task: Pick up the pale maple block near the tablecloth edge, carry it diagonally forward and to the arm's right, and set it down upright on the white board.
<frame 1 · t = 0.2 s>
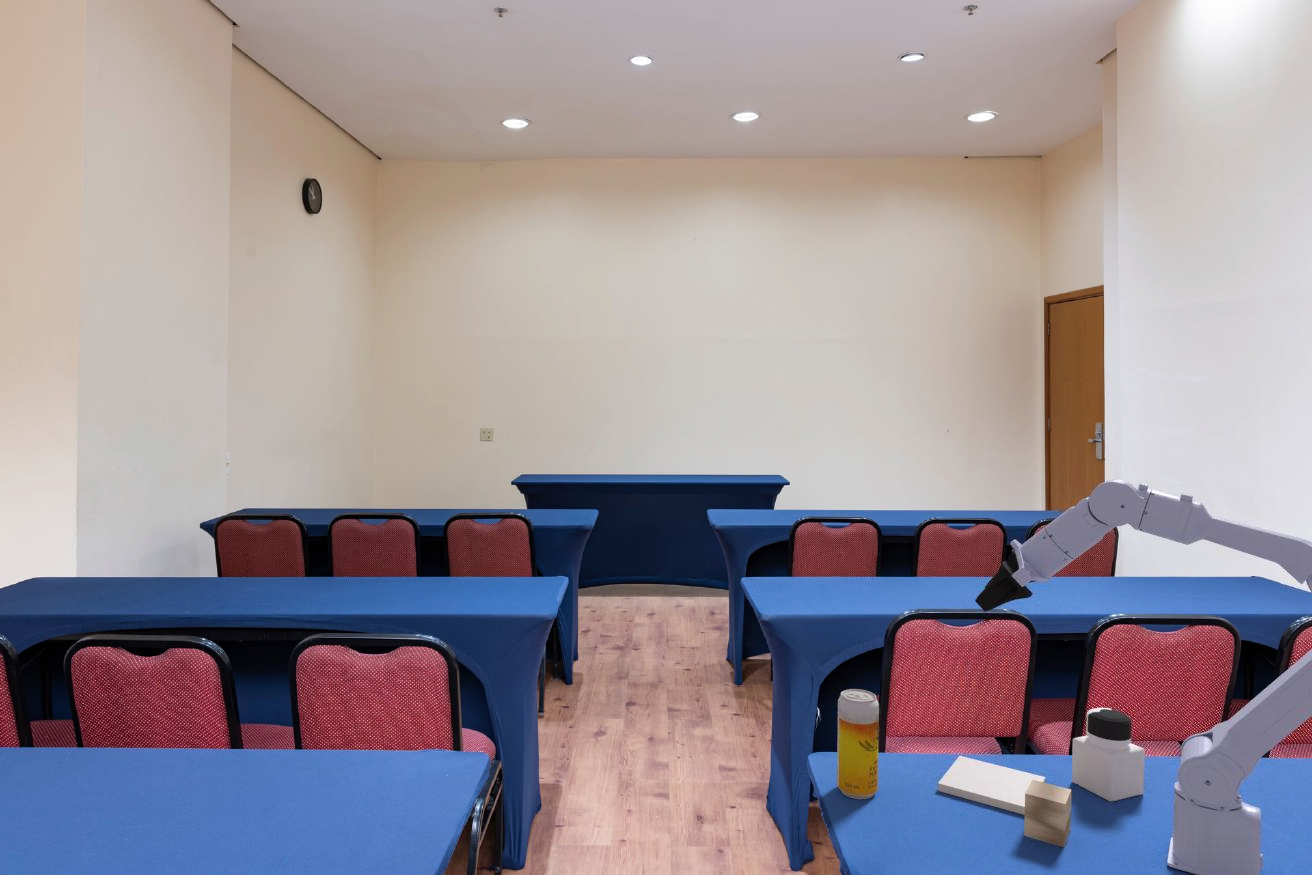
hand: (985, 598, 118), 31 cm above the table, tool tilted 45°, fingers open, 7 cm apart
medicine bottle: (1107, 789, 124), on the table
white board: (991, 787, 124), on the table
maple block: (1047, 833, 111), on the table
beer can: (857, 792, 123), on the table
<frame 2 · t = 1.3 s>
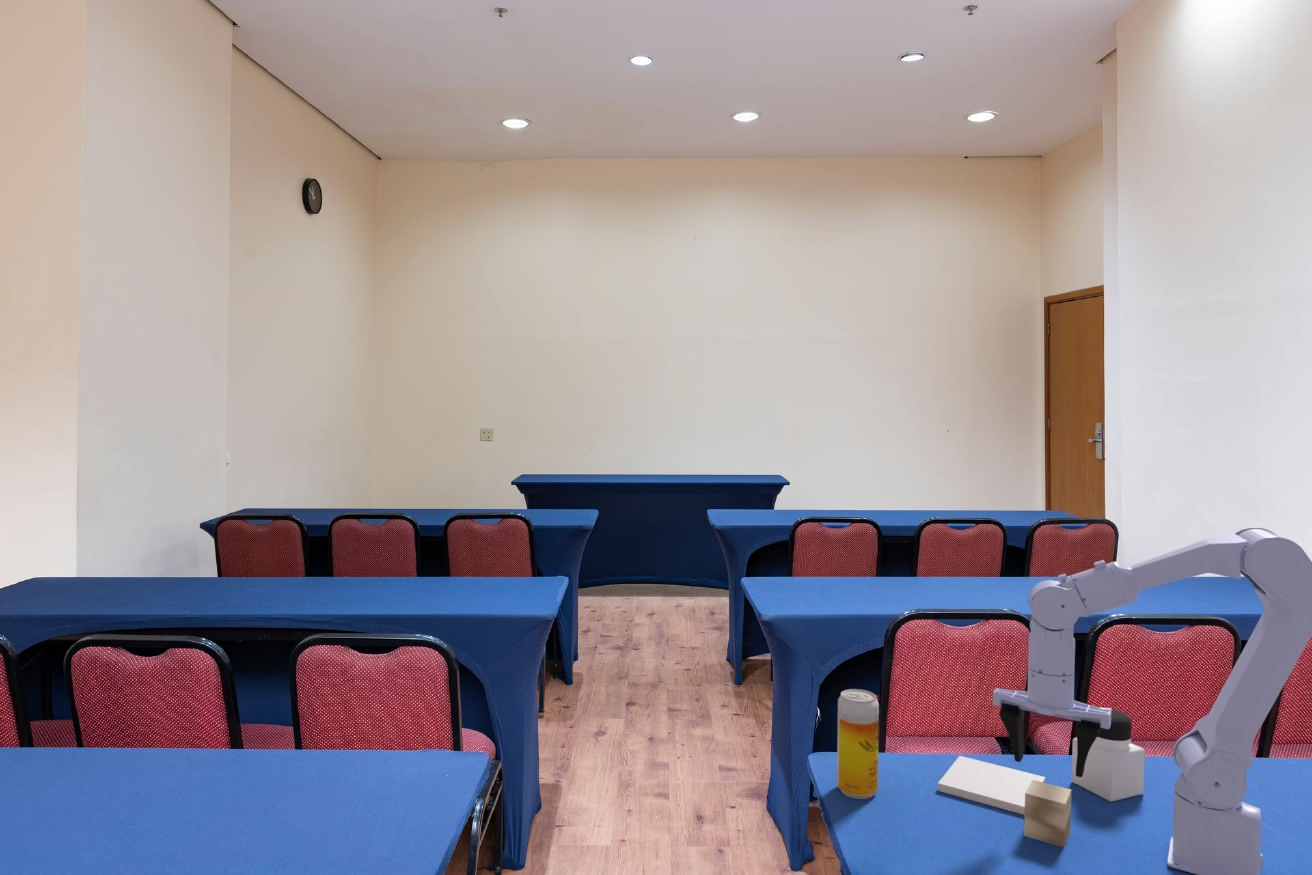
hand: (1048, 766, 111), 9 cm above the table, tool pointing down, fingers open, 7 cm apart
nothing on the table moved.
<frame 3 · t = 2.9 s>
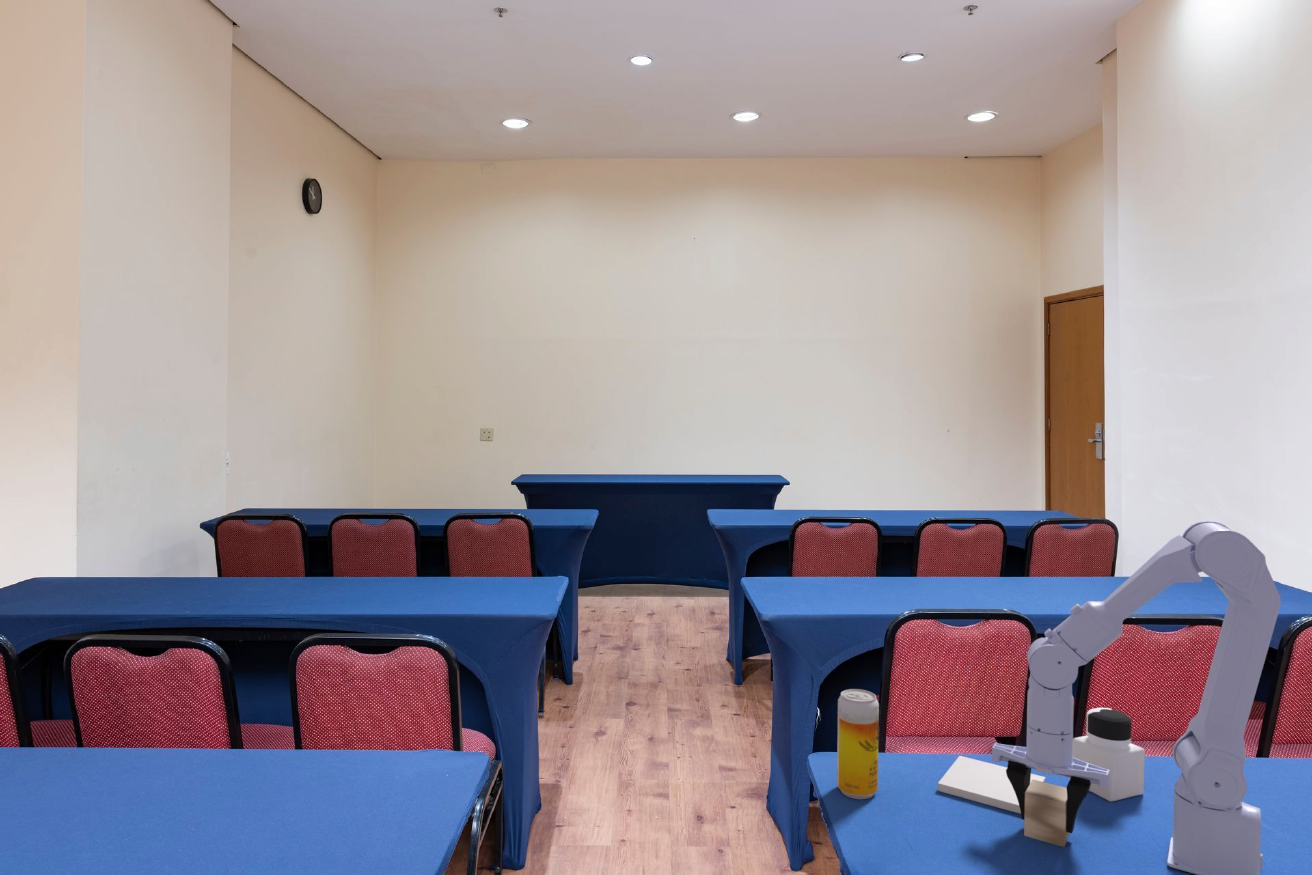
hand: (1047, 823, 111), 1 cm above the table, tool pointing down, fingers closed on maple block, 5 cm apart
maple block: (1047, 833, 111), on the table, touching gripper
everything else where it was.
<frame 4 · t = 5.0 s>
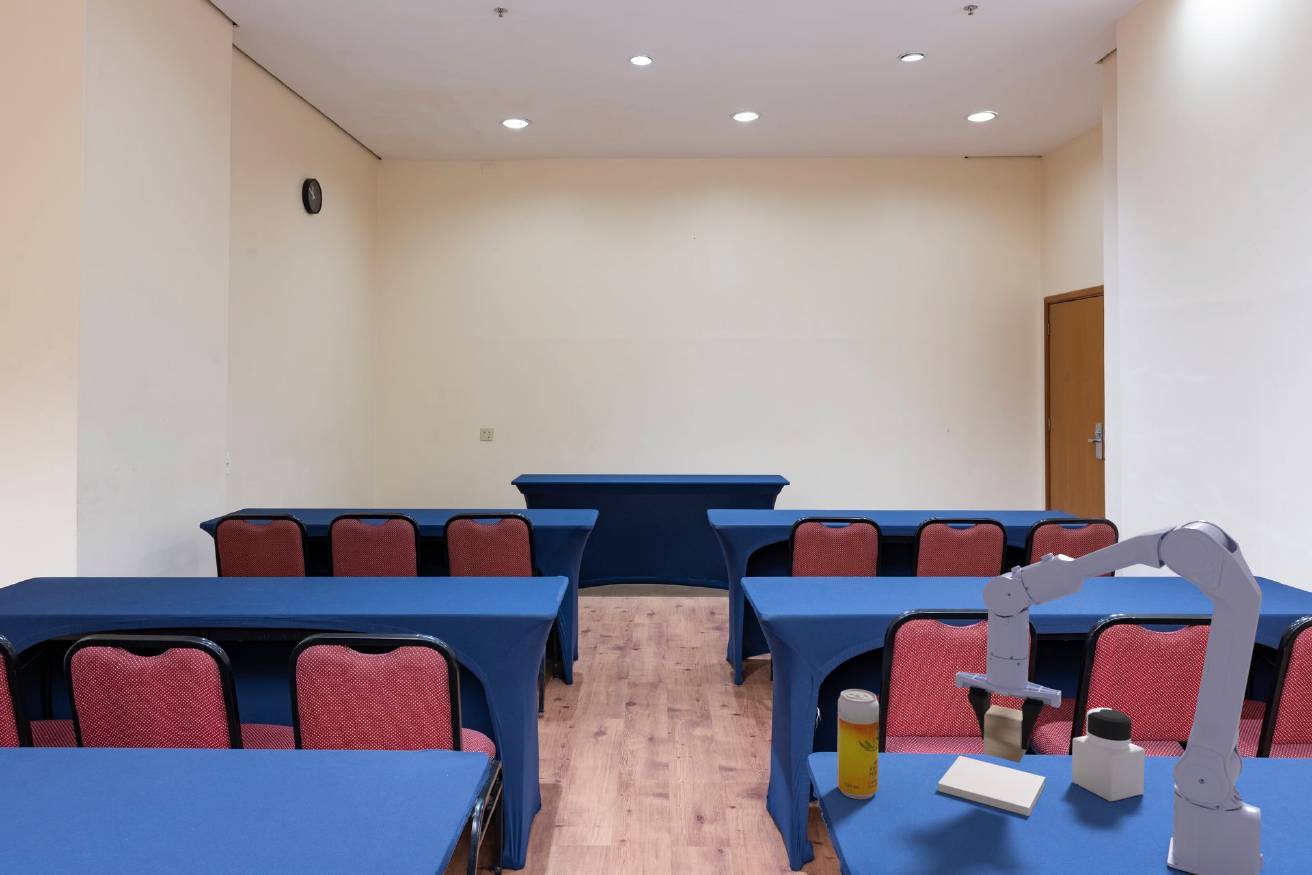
hand: (1005, 742, 120), 9 cm above the table, tool pointing down, fingers closed on maple block, 5 cm apart
maple block: (1005, 752, 120), point 7 cm above the table, touching gripper
everything else where it was.
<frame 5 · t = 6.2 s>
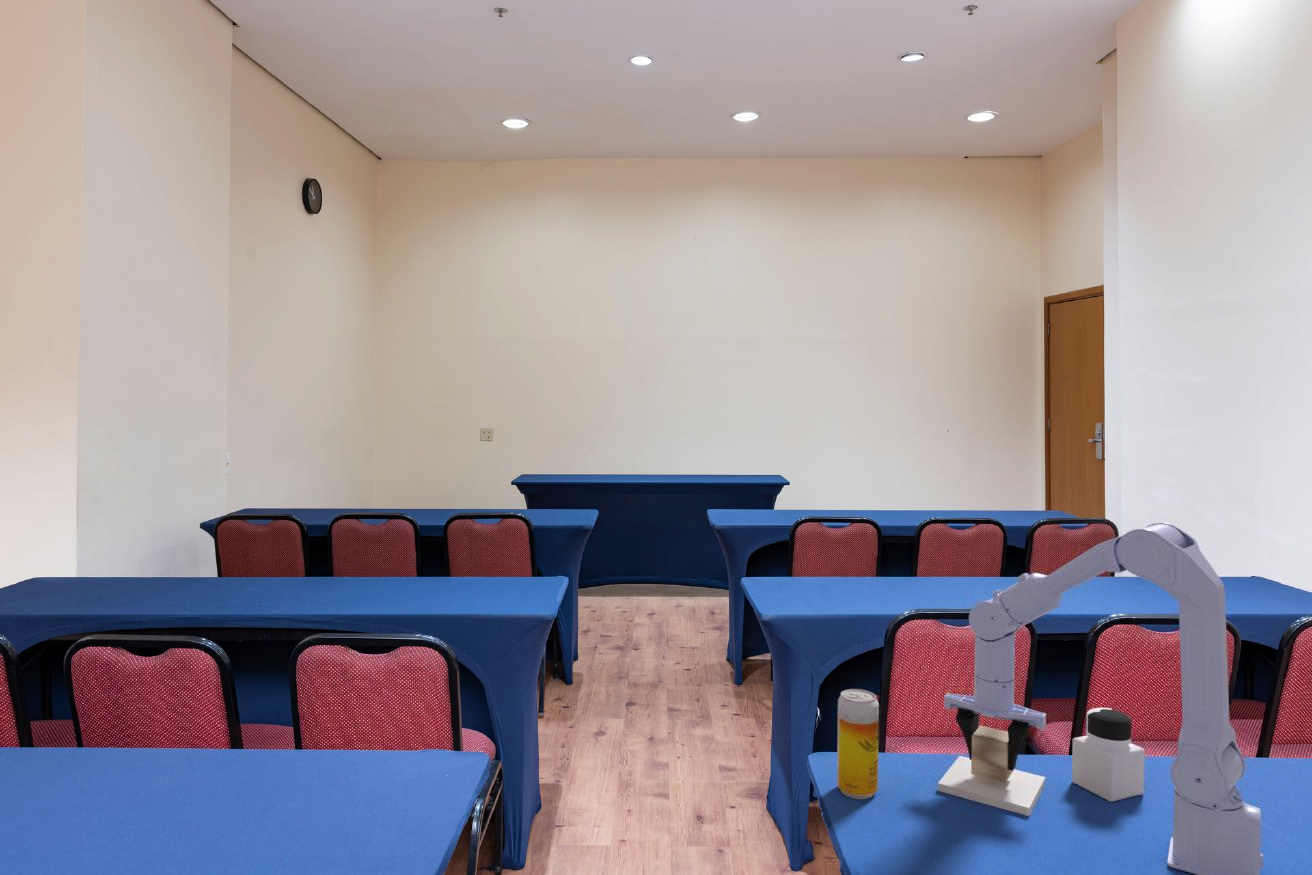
hand: (992, 762, 124), 4 cm above the table, tool pointing down, fingers closed on maple block, 5 cm apart
maple block: (992, 772, 124), point 2 cm above the table, touching gripper
everything else where it was.
when the fingers open (4 cm above the table, at t = 7.0 s): maple block drops 1 cm, resting on white board.
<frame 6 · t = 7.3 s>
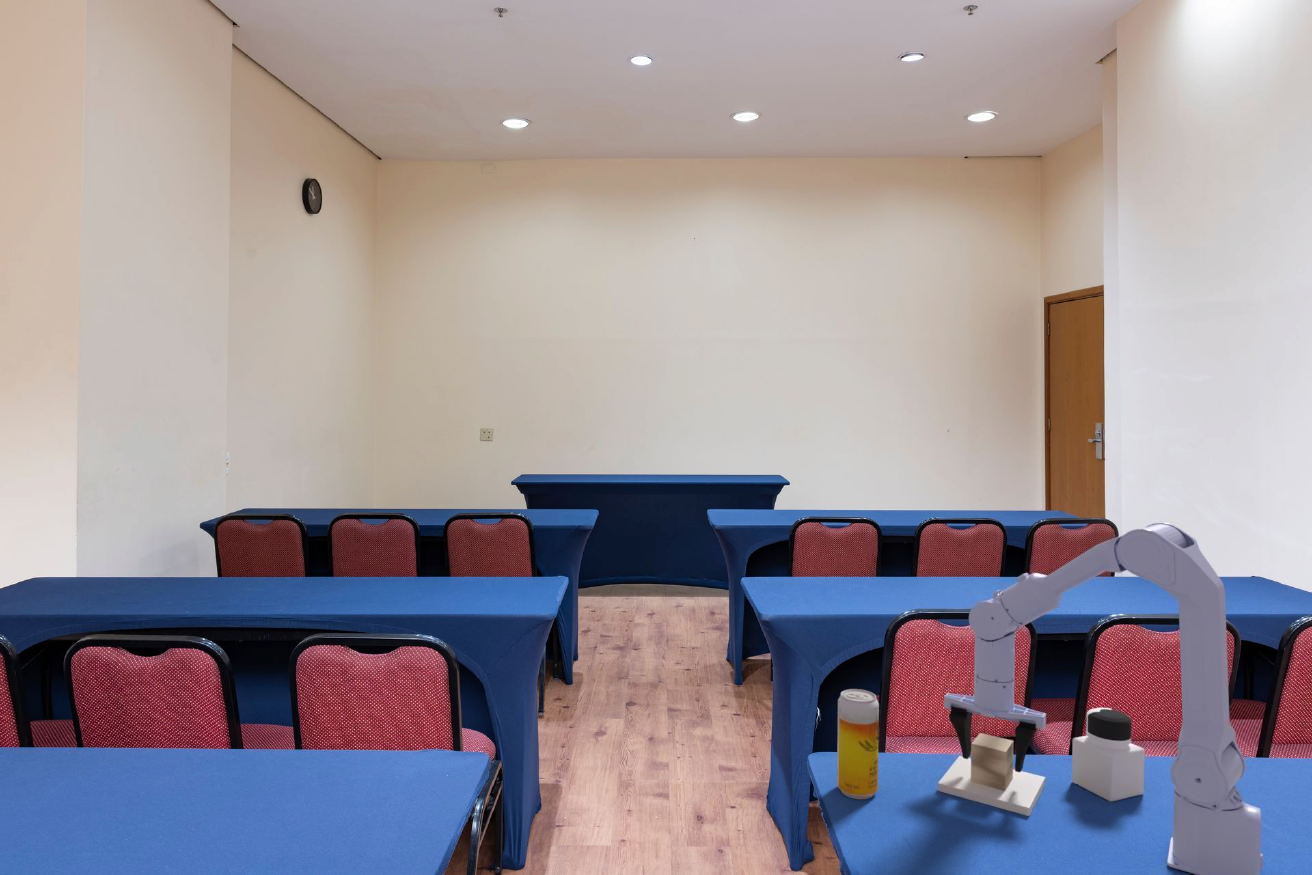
hand: (992, 762, 124), 4 cm above the table, tool pointing down, fingers open, 7 cm apart
maple block: (991, 780, 124), point 1 cm above the table, touching white board
everything else where it was.
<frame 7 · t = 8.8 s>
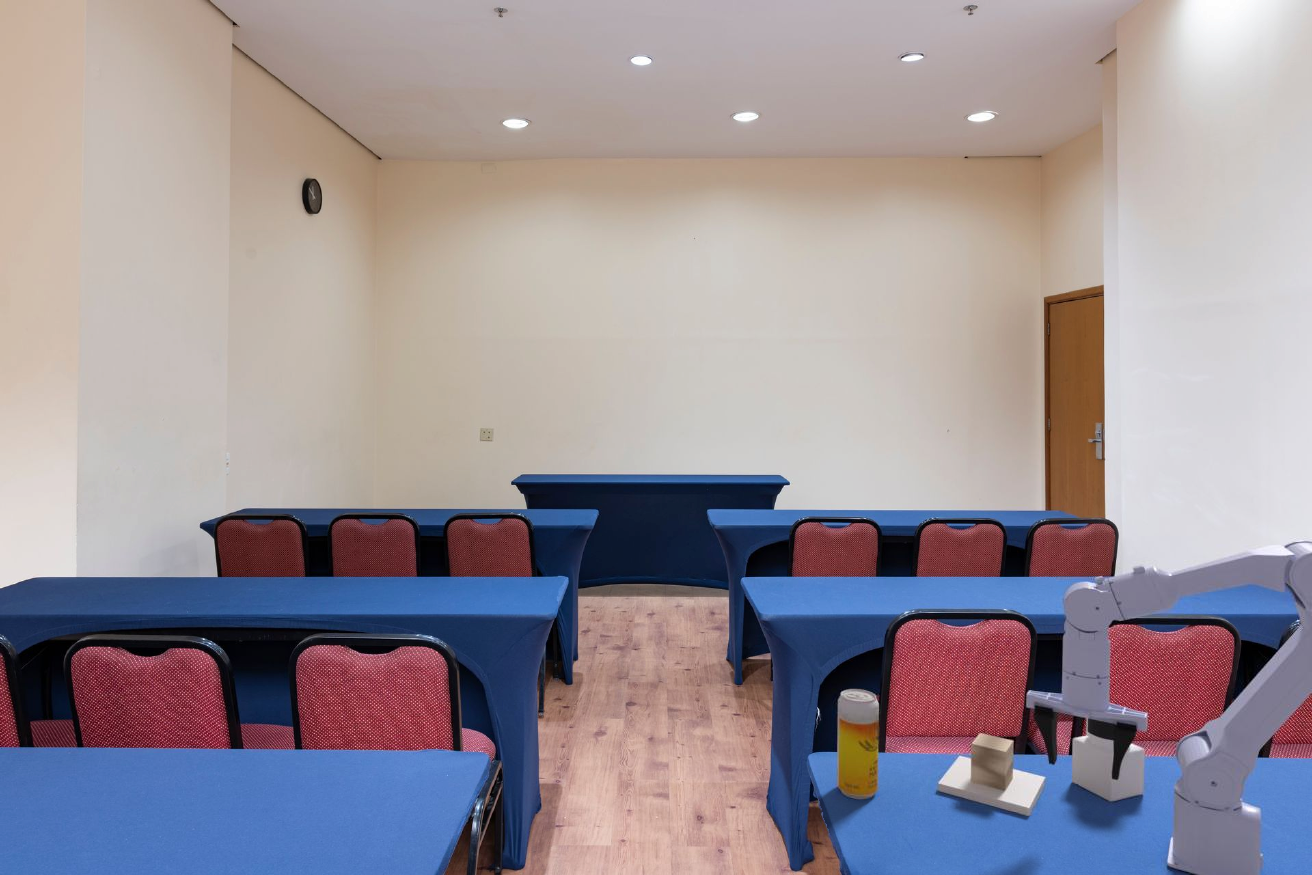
hand: (1083, 769, 110), 9 cm above the table, tool pointing down, fingers open, 7 cm apart
nothing on the table moved.
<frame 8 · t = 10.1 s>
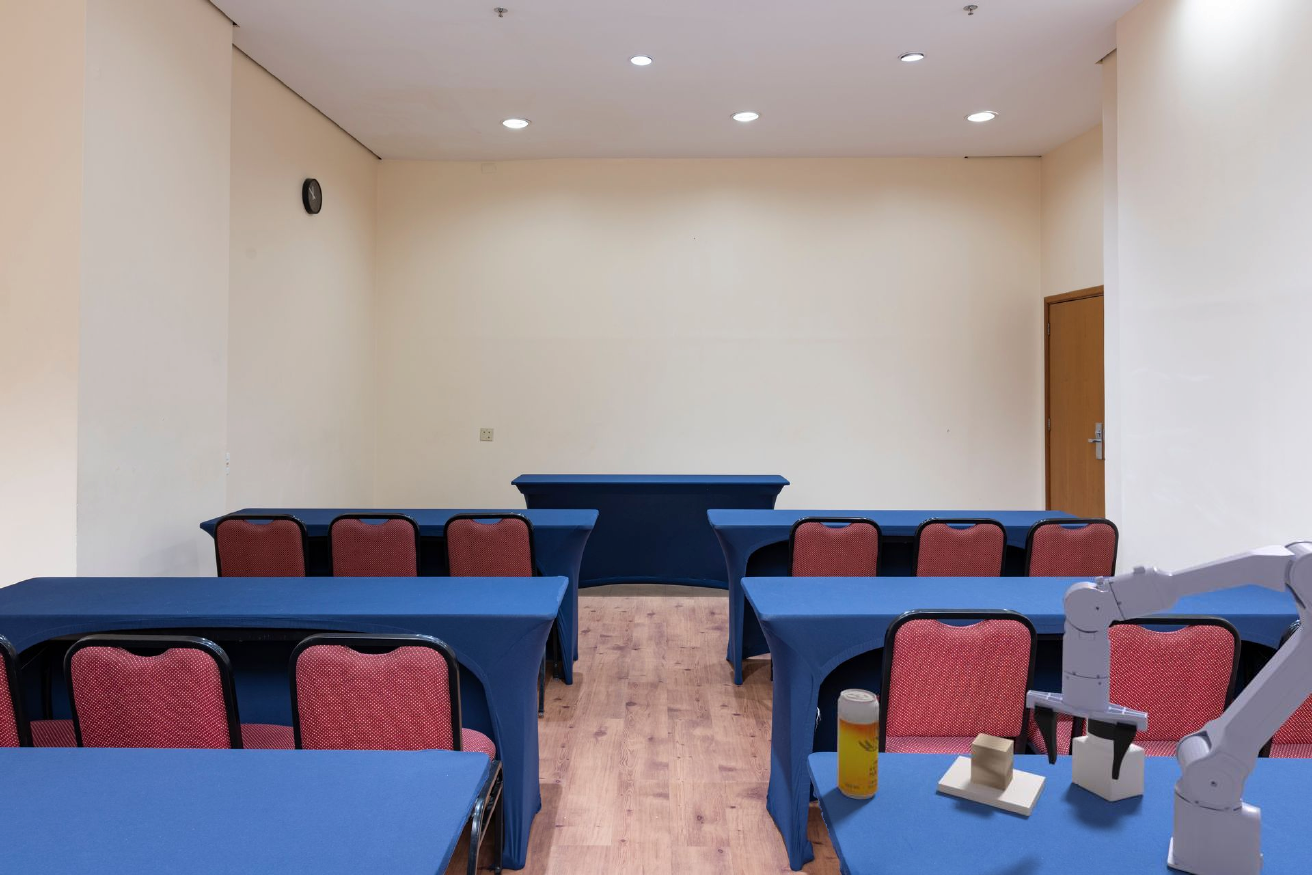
hand: (1083, 769, 110), 9 cm above the table, tool pointing down, fingers open, 7 cm apart
nothing on the table moved.
at the end: maple block inside the target area on the white board (0.1 cm from its centre), point 1.2 cm above the white board's base; maple block tilted 0°; the gripper is holding nothing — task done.
